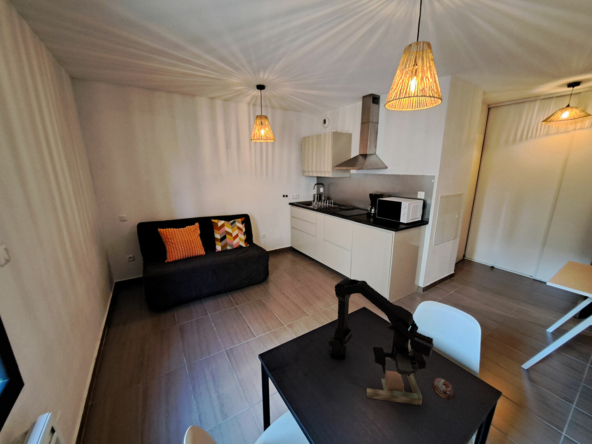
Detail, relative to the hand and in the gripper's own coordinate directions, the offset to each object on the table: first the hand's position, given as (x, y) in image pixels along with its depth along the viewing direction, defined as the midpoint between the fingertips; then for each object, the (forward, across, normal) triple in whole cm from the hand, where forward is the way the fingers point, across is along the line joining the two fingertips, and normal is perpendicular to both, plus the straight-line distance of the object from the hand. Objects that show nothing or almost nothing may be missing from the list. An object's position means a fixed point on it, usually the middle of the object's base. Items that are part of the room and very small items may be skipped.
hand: (395, 374), depth 89 cm
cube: (+8, 0, 0) cm, 8 cm away
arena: (+8, -1, +4) cm, 9 cm away
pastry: (+8, +20, +2) cm, 21 cm away
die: (+8, +9, +21) cm, 24 cm away
